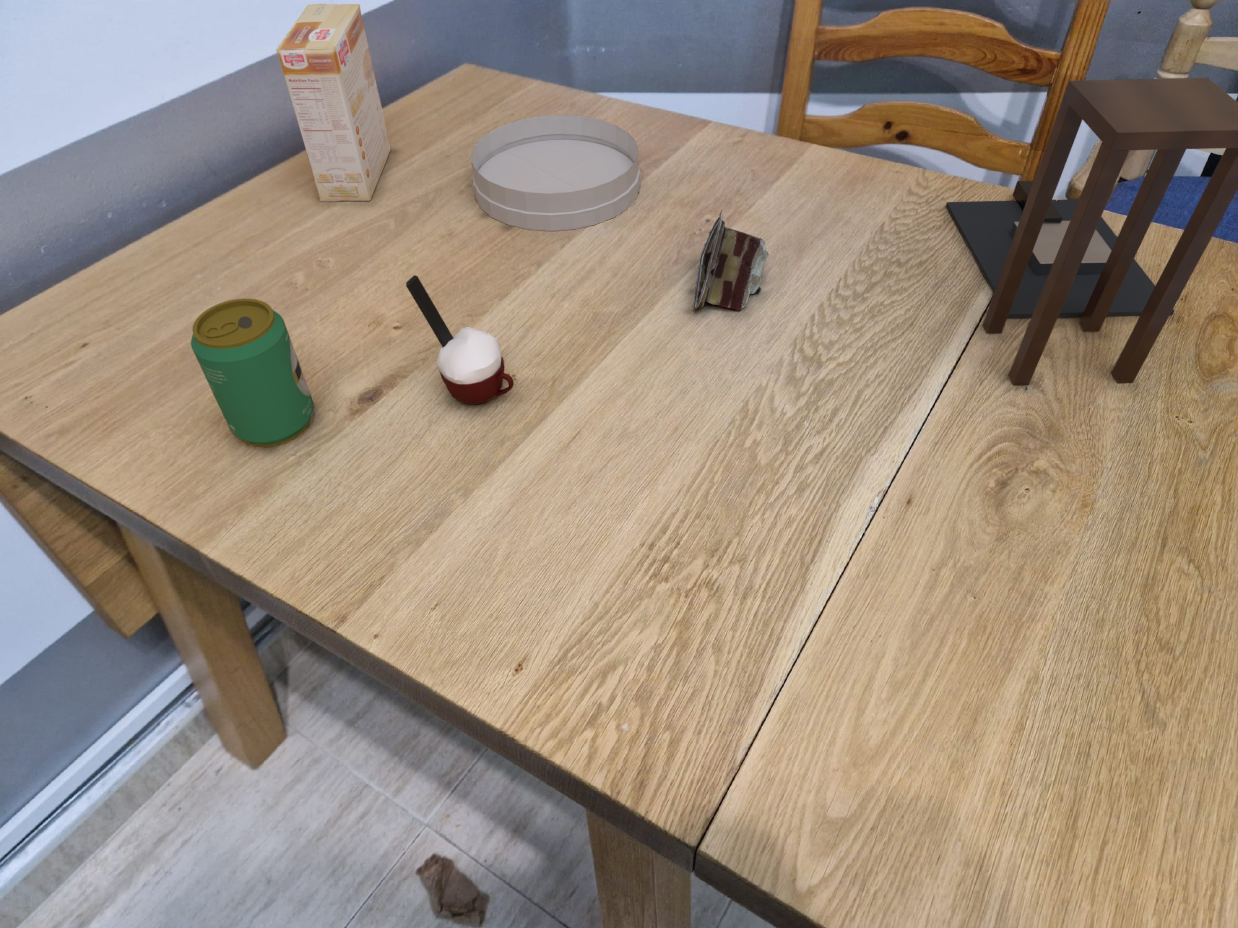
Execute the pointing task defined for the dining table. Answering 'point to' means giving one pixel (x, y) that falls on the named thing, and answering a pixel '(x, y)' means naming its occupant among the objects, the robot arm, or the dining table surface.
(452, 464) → the dining table surface
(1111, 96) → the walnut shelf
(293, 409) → the beverage can
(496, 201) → the dish
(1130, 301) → the rubber mat
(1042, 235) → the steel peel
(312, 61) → the coffeecake box
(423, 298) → the cocoa
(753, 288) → the chocolate cake
